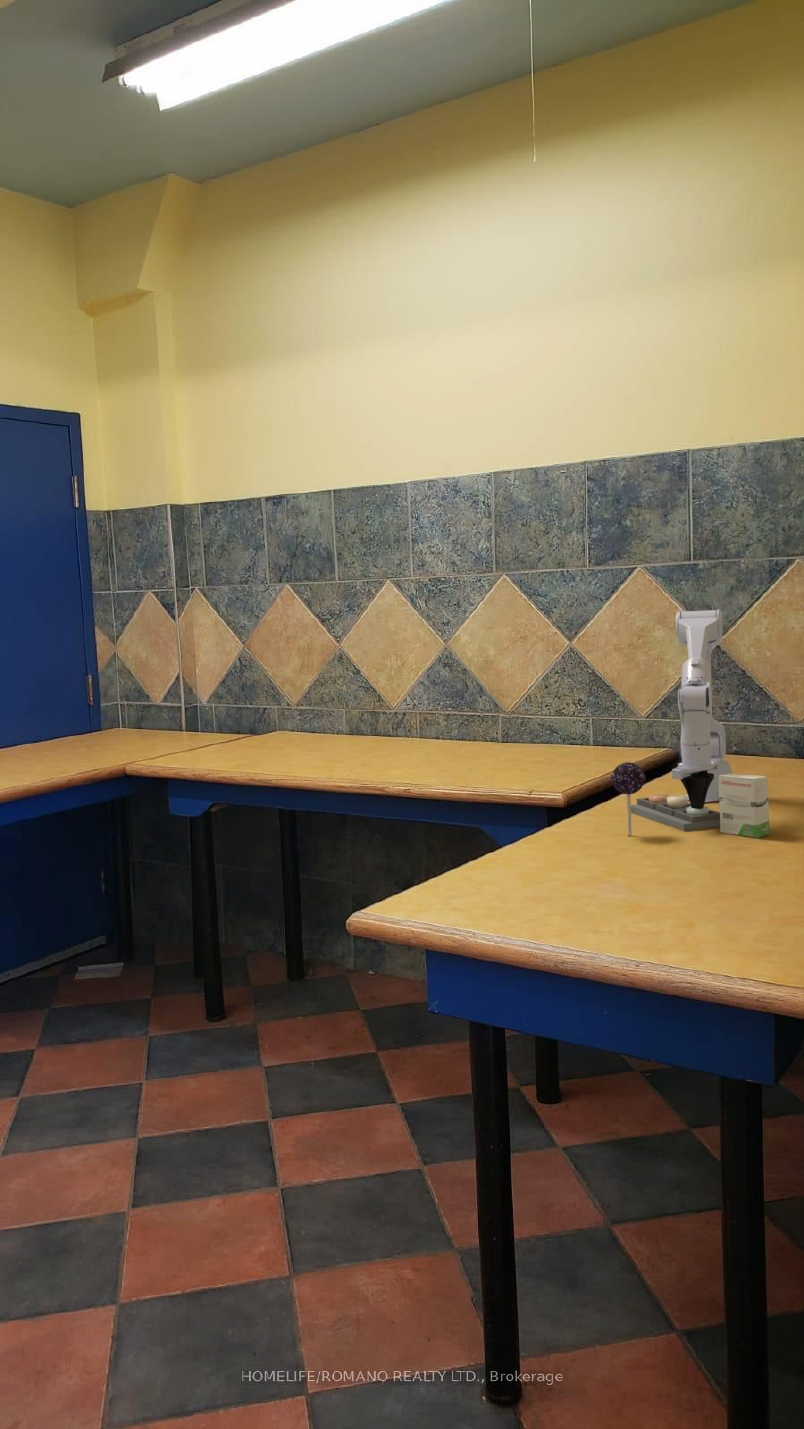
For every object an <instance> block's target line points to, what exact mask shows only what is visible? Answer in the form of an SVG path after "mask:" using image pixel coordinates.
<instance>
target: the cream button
mask: <svg viewBox="0 0 804 1429" xmlns="http://www.w3.org/2000/svg"><path fill="white" fill-rule="evenodd" d="M688 803H689V800H688V797H687V796H682V794H678V795H676V794H675V795H669V796H668V797H667V806H668V807H671V808H684V807H688Z"/></svg>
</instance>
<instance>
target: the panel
mask: <svg viewBox="0 0 804 1429" xmlns="http://www.w3.org/2000/svg"><path fill="white" fill-rule="evenodd" d="M689 806H691V804H690V802H688V807H689ZM708 809H709V814H703V815H696V816H693V815H690V814H687V807H684V808H671V807H668V806H667V802H659V803H653V802H650V801H649V796H647V797H642V798H636V803H635V804H631V814H633V815H638V816H639V817H642V818H645V819H648V820H651V821H654V822H657V823H660V824H663V825H664V826H665V825H666V826H668V827H671V828H673V829H675V830H676V829H677V830H679V831H682V832H689V831H696V830H697V831H698V830H705V829H710V828H718V827H719V828H720V811H716V810H714V809H710V808H708Z"/></svg>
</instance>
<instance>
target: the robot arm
mask: <svg viewBox="0 0 804 1429" xmlns="http://www.w3.org/2000/svg"><path fill="white" fill-rule="evenodd" d="M675 636H676V638H677V641H678V643H679V645H680V646H682V647H684V648H687V656H688V657H687V658H688V659H686V661H684V662H683V664H682V666H681V667H682V668H681V684H680V688H678V689H677V690H678V691H677V706H678V707H677V708H678V712H679V722H680V724H681V725H680V727H681V729H680V756H681V762H679V763H677V767H675V768H672V770H671V779H672V780H680V782H681V783H682V785H683V787H684V788H685V791H686V794H683V795H682V794H681V796H687V797H688V802H689V803H690V804H691V807H692V808H695V809H702V808H703V807H704V806H705V804H706V803H710V802H711V803H712V802H719V779H718V777H719V776H720V775H724V774H730V773H733V772H732V771H733V770H732V767H731V764H730V763H729V761H727V760H726V759H724V758H726V757H727V755H726V753H727V750H726V749H727V744H726V742H727V741H726V740H727V739H726V730H725V727H724V724H722V722H720V721H719V720H716V719H715V717H713V699H712V698H713V697H712V696H713V695H712V661H711V660H712V658H711V656H712V653H713V650H714V647H717V646H718V645H721V644H722V641H723V613H722V610H720V609H717V608H716V610H715V609H713V610H711V609H710V610H695V611H694V610H689V611H681V610H678V611H677V612H676V613H675Z"/></svg>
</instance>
